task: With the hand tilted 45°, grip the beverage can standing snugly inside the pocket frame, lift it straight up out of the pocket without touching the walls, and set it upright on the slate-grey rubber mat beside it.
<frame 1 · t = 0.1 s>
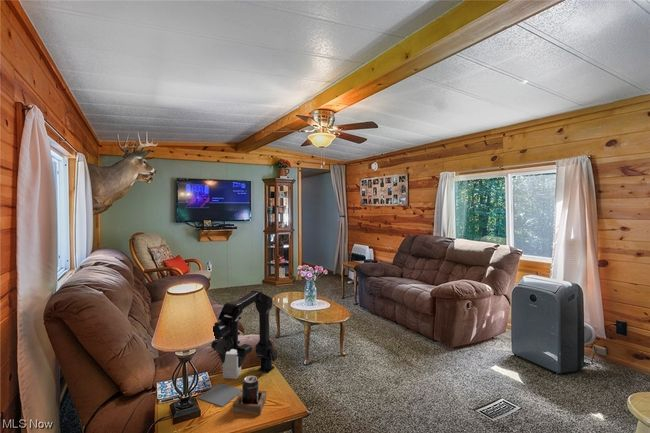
hand: (231, 365, 154), 15 cm above the table, tool pointing down, fingers open, 9 cm apart
beverage can: (250, 406, 148), resting in pocket frame
pocket frame: (250, 405, 148), on the table
supplement box: (232, 375, 173), on the table
slate mat: (221, 394, 156), on the table
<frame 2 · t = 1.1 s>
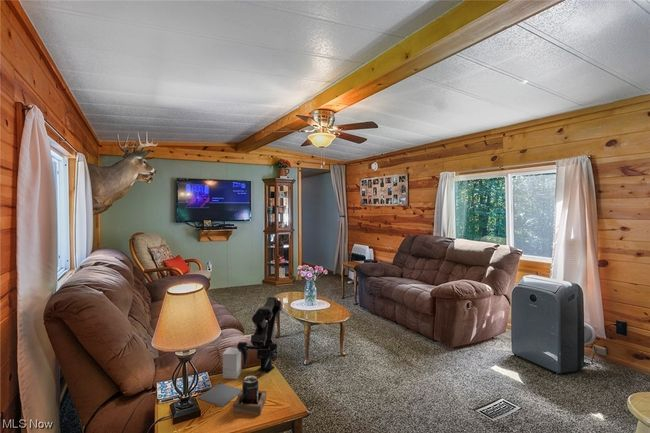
hand: (254, 366, 155), 13 cm above the table, tool tilted 45°, fingers open, 9 cm apart
nothing on the table moved.
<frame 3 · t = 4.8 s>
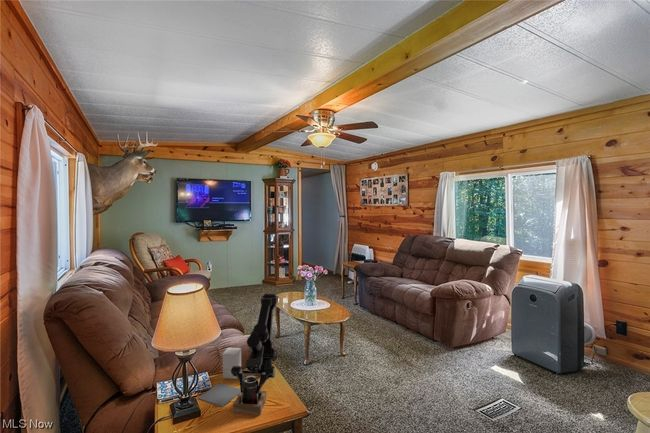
hand: (249, 392, 146), 7 cm above the table, tool tilted 45°, fingers closed on beverage can, 7 cm apart
beverage can: (250, 406, 148), resting in pocket frame, touching gripper
everything else where it was.
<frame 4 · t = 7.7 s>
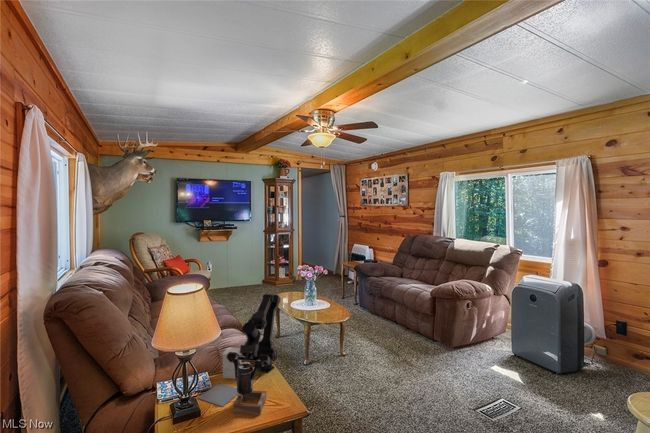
hand: (243, 378, 147), 12 cm above the table, tool tilted 45°, fingers closed on beverage can, 7 cm apart
beverage can: (244, 392, 149), point 5 cm above the table, touching gripper
everything else where it was.
when the fingers open (8 cm above the table, at t = 11.1 s): beverage can drops 1 cm, resting on slate mat.
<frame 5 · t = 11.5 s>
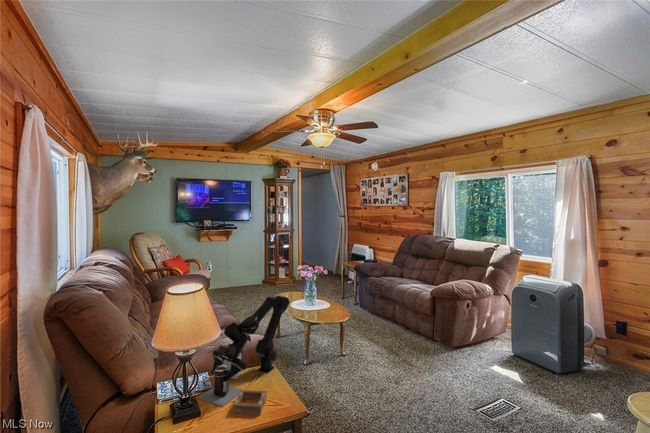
hand: (218, 377, 154), 9 cm above the table, tool tilted 45°, fingers open, 9 cm apart
beverage can: (221, 394, 156), resting on slate mat
everything else where it was.
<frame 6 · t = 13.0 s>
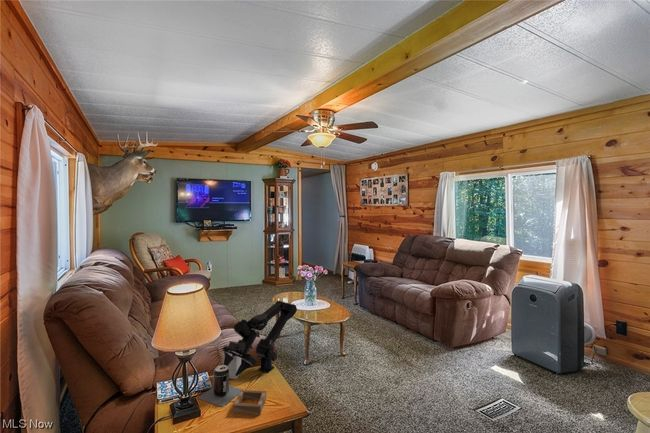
hand: (229, 372, 159), 8 cm above the table, tool tilted 45°, fingers open, 9 cm apart
supplement box: (232, 375, 173), on the table, touching gripper
everything else where it was.
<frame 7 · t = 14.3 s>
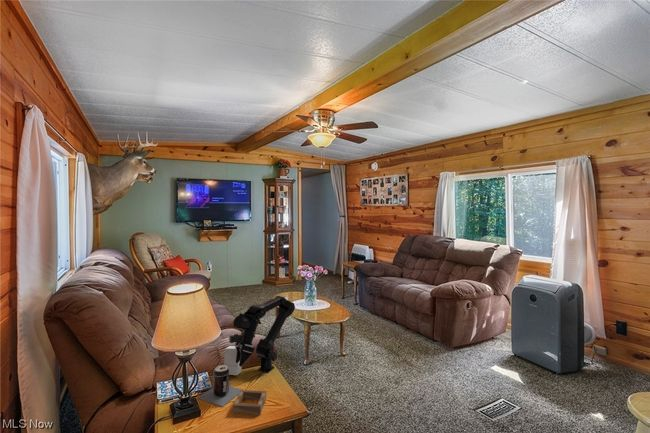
hand: (238, 364, 163), 10 cm above the table, tool tilted 30°, fingers open, 9 cm apart
supplement box: (232, 373, 173), point 1 cm above the table
everything else where it was.
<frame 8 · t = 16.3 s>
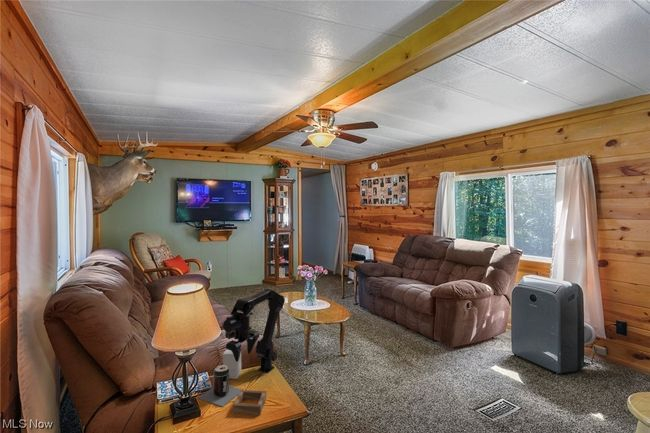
hand: (243, 357, 165), 13 cm above the table, tool pointing down, fingers open, 9 cm apart
at the end: beverage can inside the target area (0.1 cm from its centre), resting on slate mat; beverage can tilted 0°; beverage can touching slate mat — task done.
